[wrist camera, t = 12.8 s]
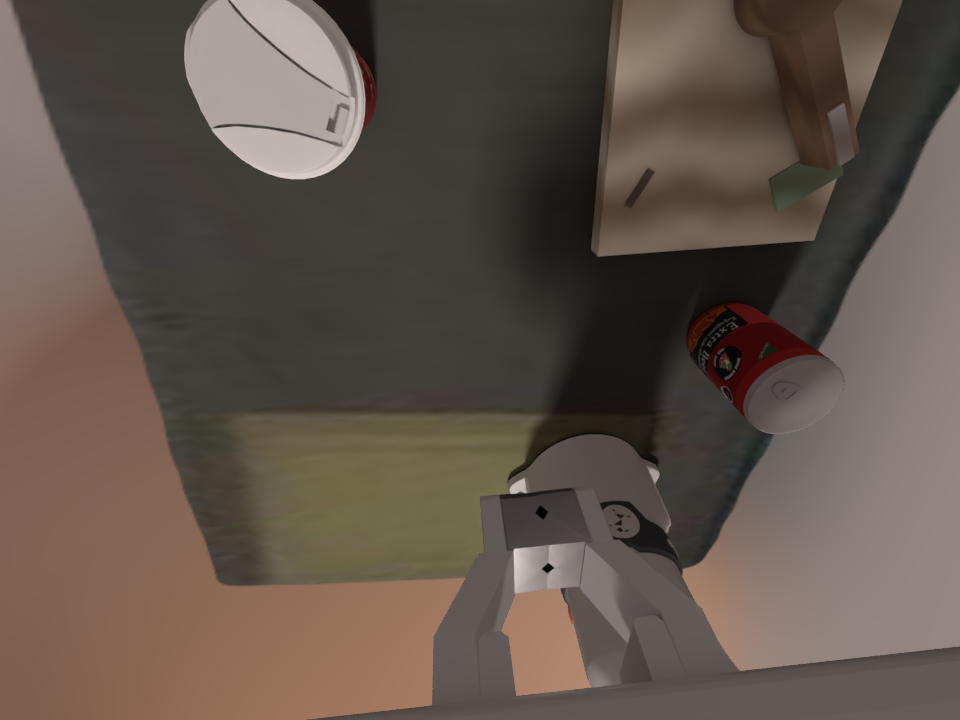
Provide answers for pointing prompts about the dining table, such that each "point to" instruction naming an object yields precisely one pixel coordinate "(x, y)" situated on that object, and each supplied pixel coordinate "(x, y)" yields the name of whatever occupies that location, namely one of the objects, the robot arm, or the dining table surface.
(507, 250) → the dining table surface
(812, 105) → the wooden spoon
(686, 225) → the cream flat square slab
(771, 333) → the canned food
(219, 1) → the paper cup
